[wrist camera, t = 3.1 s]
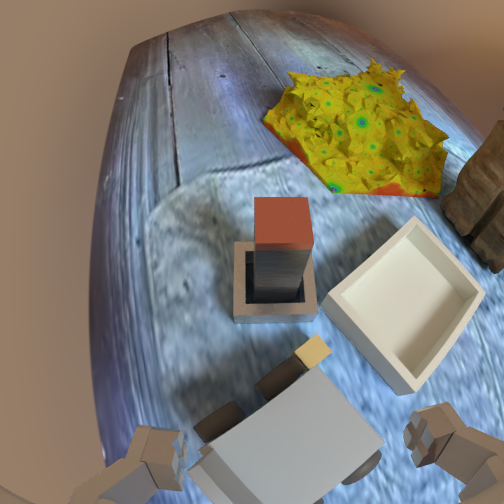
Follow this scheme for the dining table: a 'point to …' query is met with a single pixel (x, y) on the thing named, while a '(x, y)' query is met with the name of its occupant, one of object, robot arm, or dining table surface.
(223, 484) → the trolley
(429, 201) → the dining table surface
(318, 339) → the block
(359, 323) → the tray
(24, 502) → the robot arm
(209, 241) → the dining table surface
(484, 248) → the sculpture
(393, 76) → the decorative piece
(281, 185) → the dining table surface
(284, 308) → the bracket
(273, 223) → the pin
